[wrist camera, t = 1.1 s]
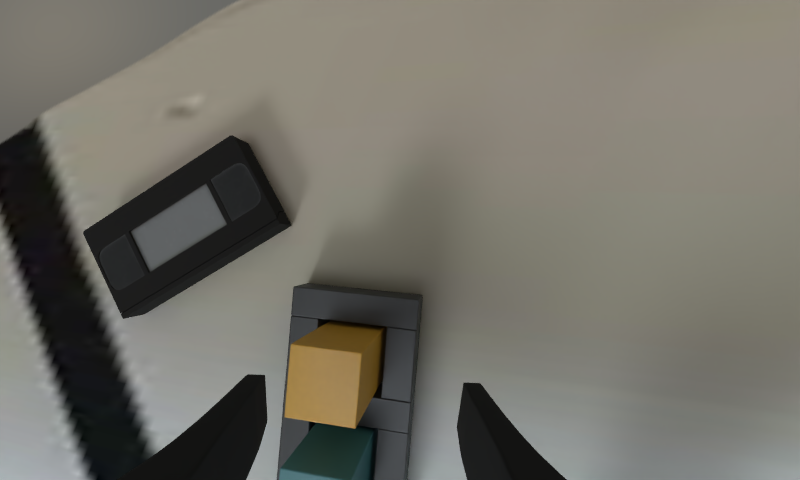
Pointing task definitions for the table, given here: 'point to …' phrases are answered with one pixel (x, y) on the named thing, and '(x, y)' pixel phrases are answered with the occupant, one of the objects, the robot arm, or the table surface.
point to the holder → (399, 371)
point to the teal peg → (333, 454)
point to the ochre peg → (335, 373)
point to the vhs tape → (186, 227)
